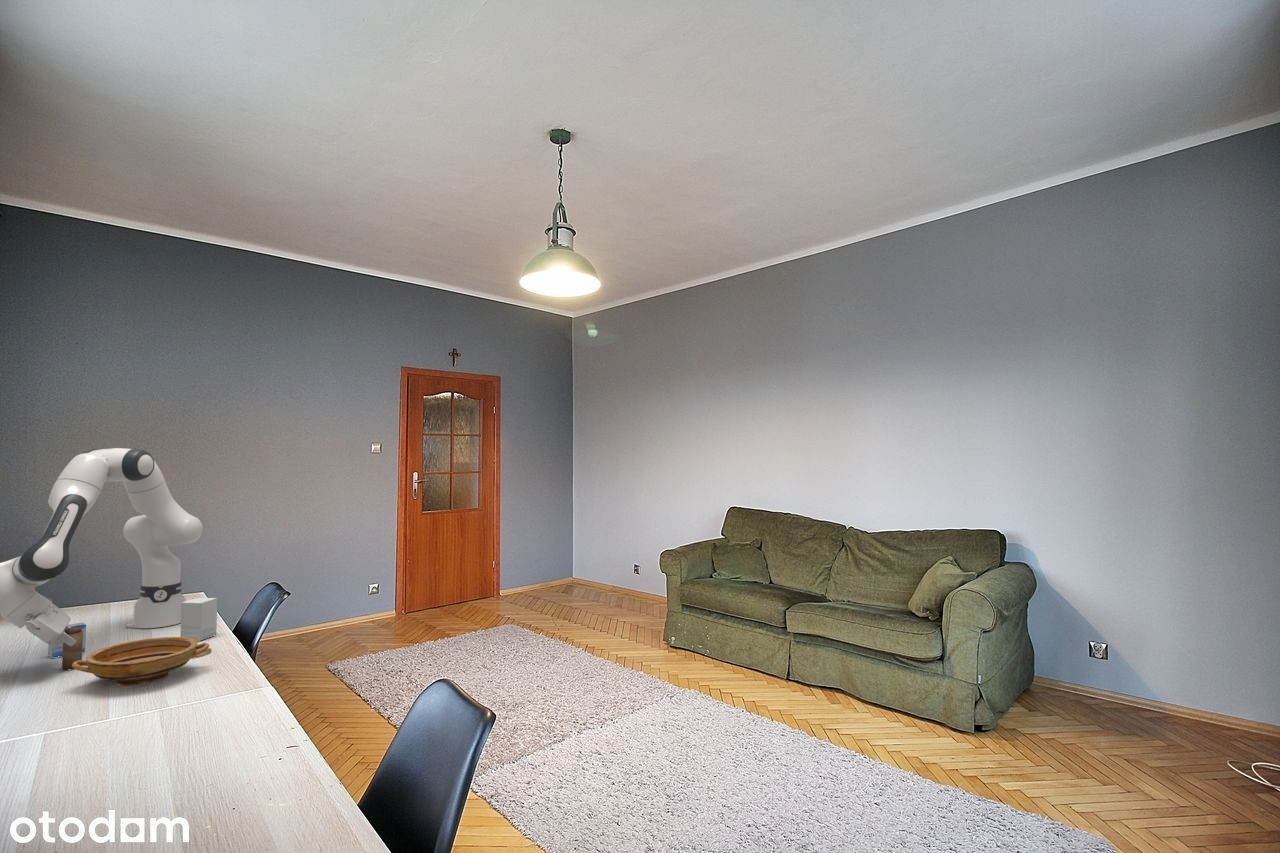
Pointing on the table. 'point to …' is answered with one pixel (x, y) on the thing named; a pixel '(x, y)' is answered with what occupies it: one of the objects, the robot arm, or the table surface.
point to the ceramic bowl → (141, 659)
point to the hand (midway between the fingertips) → (75, 641)
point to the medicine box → (57, 646)
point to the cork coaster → (204, 652)
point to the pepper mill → (72, 648)
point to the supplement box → (199, 618)
